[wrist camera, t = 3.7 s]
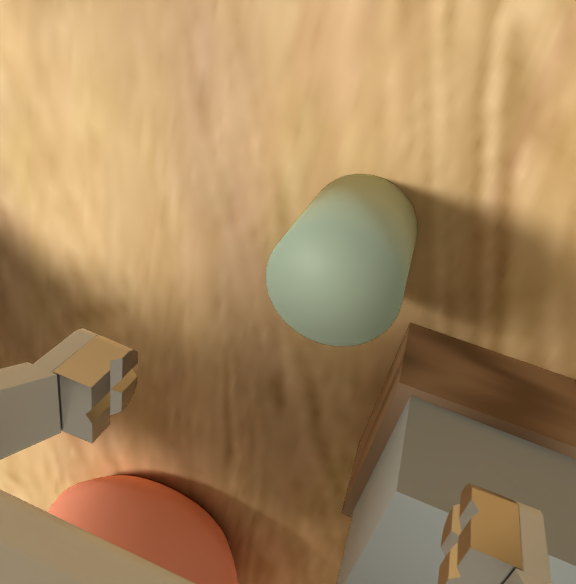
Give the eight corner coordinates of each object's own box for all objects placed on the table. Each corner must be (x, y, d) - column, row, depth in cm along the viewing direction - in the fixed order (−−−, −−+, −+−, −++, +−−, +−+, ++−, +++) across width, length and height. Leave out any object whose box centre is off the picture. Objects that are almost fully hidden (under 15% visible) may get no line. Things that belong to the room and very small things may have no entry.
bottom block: (359, 442, 30) (341, 513, 25) (410, 320, 25) (398, 382, 21) (513, 502, 28) (521, 587, 24) (598, 385, 24) (626, 465, 19)
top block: (353, 509, 25) (330, 609, 21) (410, 395, 21) (396, 491, 17) (513, 578, 24) (523, 697, 20) (608, 472, 20) (645, 595, 16)
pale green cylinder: (298, 258, 25) (256, 320, 20) (321, 160, 22) (279, 203, 17) (397, 290, 24) (379, 363, 19) (433, 192, 22) (423, 247, 16)
